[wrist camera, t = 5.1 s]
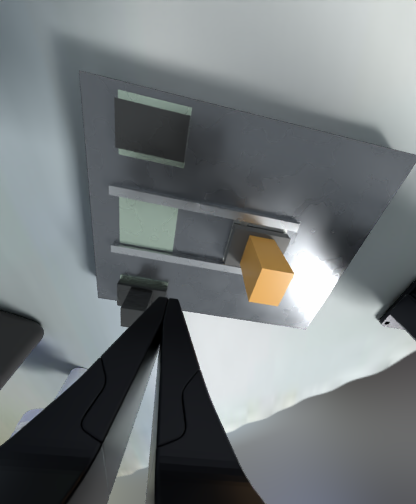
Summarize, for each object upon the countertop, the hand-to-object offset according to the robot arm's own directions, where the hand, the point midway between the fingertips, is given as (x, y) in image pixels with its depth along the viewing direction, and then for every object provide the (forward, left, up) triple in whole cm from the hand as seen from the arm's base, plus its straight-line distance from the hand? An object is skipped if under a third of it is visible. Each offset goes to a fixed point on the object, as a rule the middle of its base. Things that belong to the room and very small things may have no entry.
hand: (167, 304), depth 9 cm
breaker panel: (-3, 0, -9) cm, 10 cm away
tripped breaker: (-5, 0, -7) cm, 9 cm away
